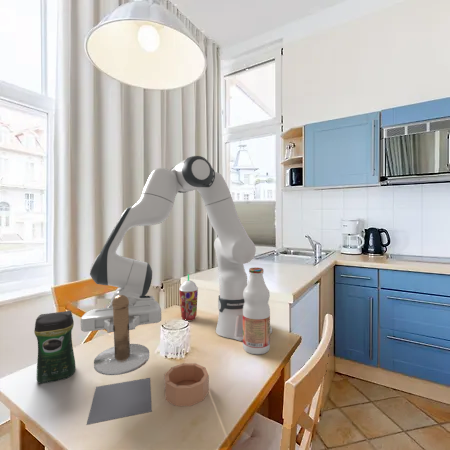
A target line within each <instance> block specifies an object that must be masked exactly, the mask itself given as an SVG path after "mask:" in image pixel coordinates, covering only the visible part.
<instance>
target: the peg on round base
mask: <svg viewBox="0 0 450 450" xmlns="http://www.w3.org/2000/svg"><path fill="white" fill-rule="evenodd" d="M128 306H129V299H128V298H127V297H126V296H125V295H118V296H116V297H115V298H114V299H113V301H112V307H113V322H114V332H113V340H114V341H113V343H114V346H112V347H109V348H107V349H105V350H103V351H101V352H100V353H99V354H97V356H95V358H94V360H93V368H94V370H95V371H96V373H99V374H100V375H105V376H118V375H119V376H120V375H123V374H124V375H125V374H128V373H132V372H135V371H136V370H138V369H140V368H141V367H144V366H145V365H146V364H147V362H148V361H149V359H150V350H149V348H148V347H147V346H145V345H144V344H140V343H131V342H130V341H131V340H130V339H131V338H130V330H129V308H128Z"/></svg>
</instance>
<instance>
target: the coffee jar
mask: <svg viewBox="0 0 450 450" xmlns="http://www.w3.org/2000/svg"><path fill="white" fill-rule="evenodd" d="M73 328H74V317H73V313H72V311H71V310H65V311H60V312H59V311H58V312H49V313H40V315H38V316H37V317H36V319H35V324H34V330H33V331H34V335H35V338H36V340H37V341H36V342H37V358H36V359H37V360H36V361H37V363H36V382H37V383H39V384H45V383H53V382H58V381H62V380H65V379H68V378H70V377H71V376H73V375H74V373H75V371H76V358H75V353H74V347H73V340H72V339H73V338H72V337H73V335H72V331H73Z"/></svg>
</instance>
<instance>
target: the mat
mask: <svg viewBox="0 0 450 450" xmlns="http://www.w3.org/2000/svg"><path fill="white" fill-rule="evenodd" d="M94 389H95V390H94V395H93V398H92V402H91V405H90V409H89V413H88V417H87V421H86V426H87V425H92V424H96V423H97V424H98V423H101V422H107V421H112V420H117V419H122V418H128V417H132V416H136V415H142V414H146V413H147V414H148V413H151V412H153V409H152V391H151V389H152V388H151V377H145V378H141V379H134V380H129V381H122V382H117V383H111V384H103V385H99V386H95V388H94Z"/></svg>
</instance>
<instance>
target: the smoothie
mask: <svg viewBox="0 0 450 450" xmlns="http://www.w3.org/2000/svg"><path fill="white" fill-rule="evenodd" d="M178 291H179V293H178V294H179V304H180V308H179V309H180V317H181V318H182V320H183V319H184V320H183V321H185V319H186V320H192V321H194V320H196V317H197V311H198V310H197V309H198V295H199V294H198V292H199V287H198V286H197V284H196V283H195V281H193V280H190V274H189V273H187V279H186V280H185V281H183V282H182V283H181V284H180V286H179V289H178Z"/></svg>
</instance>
